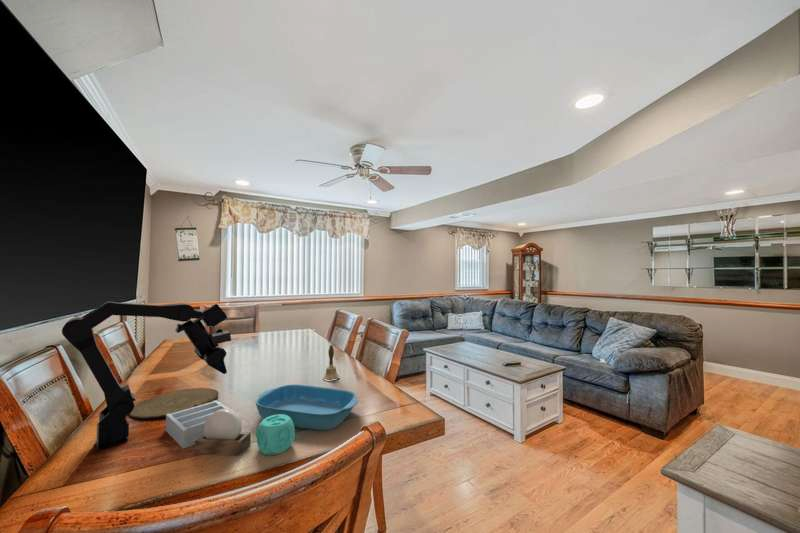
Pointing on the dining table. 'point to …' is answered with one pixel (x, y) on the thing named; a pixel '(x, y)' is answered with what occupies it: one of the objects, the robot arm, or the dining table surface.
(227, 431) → the plate
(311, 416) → the casserole dish
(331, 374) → the hand bell
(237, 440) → the stand
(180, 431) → the rack
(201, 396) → the decorative disc
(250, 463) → the dining table surface
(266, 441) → the decorative dice
